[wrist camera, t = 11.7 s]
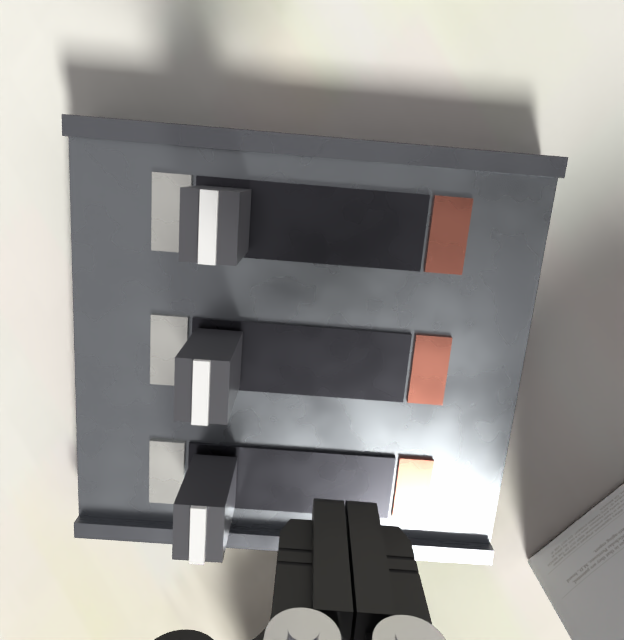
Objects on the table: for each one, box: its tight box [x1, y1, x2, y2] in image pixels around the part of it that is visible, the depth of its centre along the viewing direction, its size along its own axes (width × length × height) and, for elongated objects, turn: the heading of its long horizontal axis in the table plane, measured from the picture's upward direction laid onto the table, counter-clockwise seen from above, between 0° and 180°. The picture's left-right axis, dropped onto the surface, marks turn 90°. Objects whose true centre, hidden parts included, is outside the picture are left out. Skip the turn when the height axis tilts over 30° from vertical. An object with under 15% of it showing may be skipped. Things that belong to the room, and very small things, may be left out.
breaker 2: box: [174, 328, 243, 426], centre depth 22 cm, size 2×2×4 cm
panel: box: [62, 114, 568, 565], centre depth 26 cm, size 20×19×3 cm
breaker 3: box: [172, 454, 238, 565], centre depth 24 cm, size 2×2×4 cm
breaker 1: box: [178, 185, 252, 266], centre depth 21 cm, size 2×2×4 cm
